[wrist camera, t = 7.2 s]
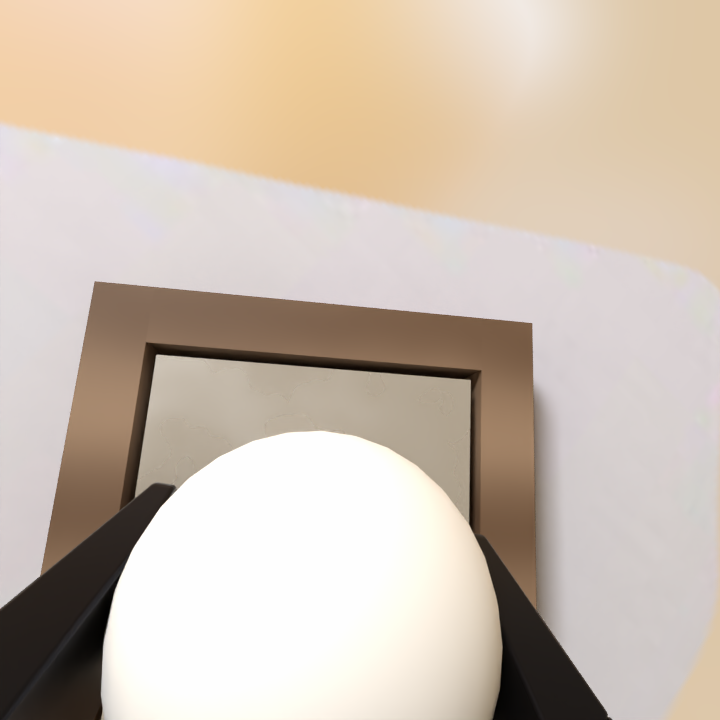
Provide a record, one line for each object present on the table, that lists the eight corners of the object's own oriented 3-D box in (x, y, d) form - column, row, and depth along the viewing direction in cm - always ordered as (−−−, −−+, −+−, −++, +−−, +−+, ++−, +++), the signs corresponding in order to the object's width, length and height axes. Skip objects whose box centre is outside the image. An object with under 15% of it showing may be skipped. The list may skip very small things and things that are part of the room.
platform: (447, 693, 17) (466, 723, 15) (125, 690, 16) (100, 723, 14) (453, 387, 19) (470, 380, 17) (172, 365, 18) (156, 354, 16)
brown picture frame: (500, 751, 18) (539, 811, 15) (51, 754, 16) (-6, 822, 13) (500, 341, 21) (532, 323, 18) (126, 307, 19) (94, 281, 16)
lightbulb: (358, 420, 17) (469, 348, 6) (420, 594, 16) (687, 884, 5) (185, 482, 15) (-69, 533, 5) (241, 674, 14) (81, 1282, 4)
